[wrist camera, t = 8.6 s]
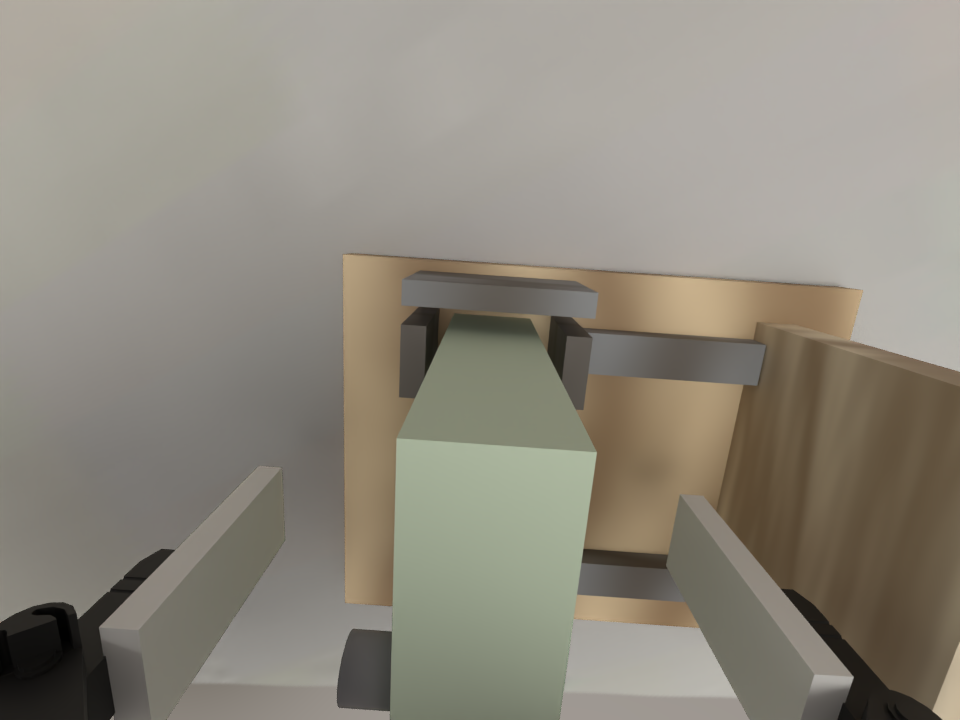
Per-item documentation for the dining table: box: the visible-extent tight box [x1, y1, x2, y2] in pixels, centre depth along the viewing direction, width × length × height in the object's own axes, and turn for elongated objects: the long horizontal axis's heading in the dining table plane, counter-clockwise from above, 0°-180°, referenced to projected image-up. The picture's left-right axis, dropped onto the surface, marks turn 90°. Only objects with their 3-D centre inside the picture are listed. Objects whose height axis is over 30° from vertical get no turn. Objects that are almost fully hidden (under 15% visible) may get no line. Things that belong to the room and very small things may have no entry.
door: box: [337, 313, 597, 720], centre depth 14 cm, size 4×12×12 cm, turn 176°
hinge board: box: [343, 253, 960, 720], centre depth 16 cm, size 20×16×11 cm
